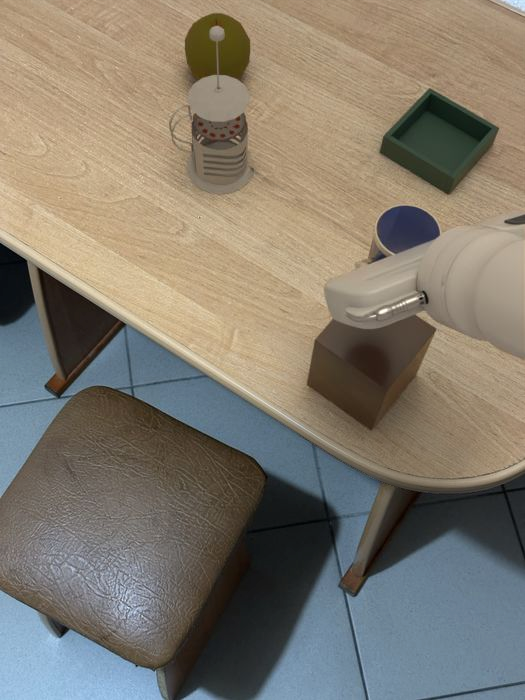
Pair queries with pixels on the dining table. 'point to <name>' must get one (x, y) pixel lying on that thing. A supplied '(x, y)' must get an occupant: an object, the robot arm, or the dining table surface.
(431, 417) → the dining table surface
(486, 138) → the bin
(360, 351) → the block
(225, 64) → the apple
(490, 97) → the dining table surface
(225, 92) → the french press
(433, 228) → the canister
